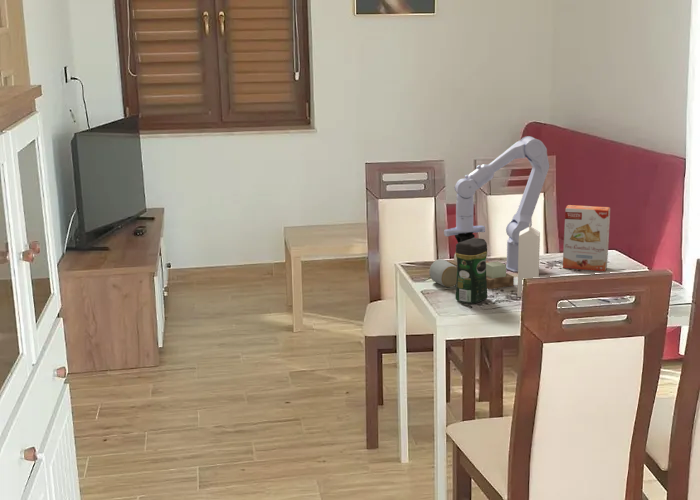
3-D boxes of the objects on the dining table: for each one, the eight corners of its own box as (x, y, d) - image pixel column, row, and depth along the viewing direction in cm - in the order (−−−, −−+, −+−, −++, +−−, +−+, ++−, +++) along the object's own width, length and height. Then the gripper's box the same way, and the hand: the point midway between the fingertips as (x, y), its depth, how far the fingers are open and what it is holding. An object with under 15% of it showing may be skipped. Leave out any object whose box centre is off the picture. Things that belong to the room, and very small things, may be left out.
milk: (517, 297, 257) (518, 225, 252) (518, 291, 263) (519, 221, 257) (538, 298, 255) (539, 225, 250) (538, 292, 261) (540, 221, 256)
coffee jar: (469, 293, 261) (470, 234, 257) (491, 298, 256) (492, 238, 252) (450, 301, 254) (450, 240, 250) (472, 306, 249) (473, 244, 245)
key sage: (497, 273, 273) (497, 261, 272) (506, 277, 268) (506, 264, 268) (483, 275, 271) (484, 263, 270) (492, 279, 267) (492, 266, 266)
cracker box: (562, 268, 287) (564, 207, 282) (565, 264, 292) (567, 204, 287) (605, 272, 281) (608, 209, 276) (607, 267, 287) (610, 206, 282)
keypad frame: (469, 265, 293) (469, 257, 292) (513, 285, 268) (513, 276, 268) (447, 269, 290) (447, 260, 289) (489, 289, 265) (489, 280, 265)
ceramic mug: (442, 289, 266) (442, 265, 264) (428, 283, 273) (429, 260, 272) (470, 285, 271) (471, 262, 269) (456, 279, 278) (457, 256, 276)
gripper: (477, 211, 289) (477, 249, 293) (439, 215, 284) (439, 254, 287) (488, 214, 283) (487, 254, 286) (449, 218, 278) (449, 259, 281)
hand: (464, 254), depth 286 cm, fingers closed, pressing on key ivory
